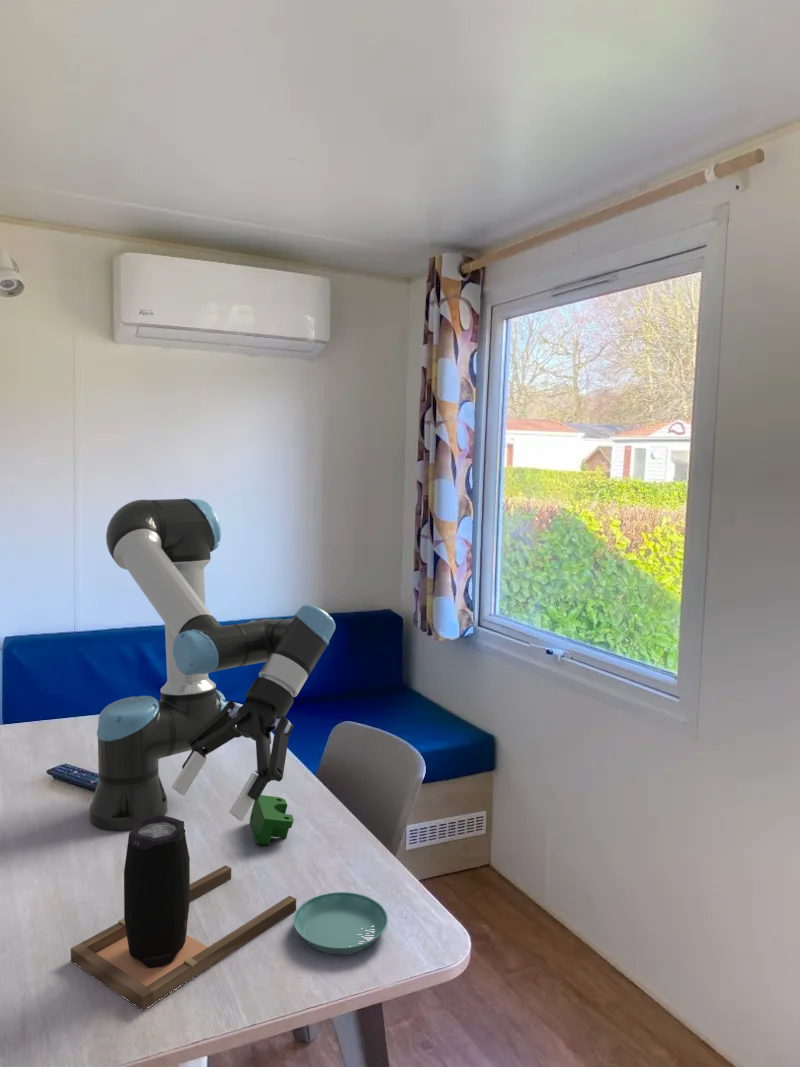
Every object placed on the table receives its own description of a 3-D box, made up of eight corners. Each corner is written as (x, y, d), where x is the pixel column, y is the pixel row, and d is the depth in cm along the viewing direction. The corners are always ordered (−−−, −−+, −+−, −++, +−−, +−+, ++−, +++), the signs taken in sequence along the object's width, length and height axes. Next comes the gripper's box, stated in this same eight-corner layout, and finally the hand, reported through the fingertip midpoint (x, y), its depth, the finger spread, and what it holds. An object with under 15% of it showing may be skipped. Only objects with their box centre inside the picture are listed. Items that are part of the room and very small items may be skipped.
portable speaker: (201, 944, 117) (201, 820, 115) (154, 979, 109) (154, 847, 107) (159, 926, 121) (159, 806, 119) (111, 959, 113) (110, 831, 111)
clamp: (281, 862, 150) (295, 829, 147) (251, 859, 148) (265, 826, 145) (277, 814, 160) (291, 782, 157) (249, 810, 158) (262, 778, 155)
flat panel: (95, 955, 114) (95, 953, 114) (157, 920, 123) (157, 918, 123) (154, 994, 106) (154, 992, 106) (216, 954, 115) (216, 952, 115)
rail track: (70, 960, 113) (70, 946, 112) (224, 875, 137) (224, 863, 136) (144, 1012, 103) (143, 996, 102) (296, 910, 127) (296, 897, 126)
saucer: (308, 973, 112) (308, 956, 111) (282, 917, 125) (282, 902, 125) (402, 950, 117) (402, 934, 117) (367, 899, 131) (368, 884, 131)
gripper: (342, 715, 126) (275, 838, 115) (237, 684, 140) (169, 791, 129) (321, 690, 121) (248, 817, 110) (214, 662, 135) (141, 771, 125)
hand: (205, 803), depth 120 cm, fingers open, 13 cm apart
